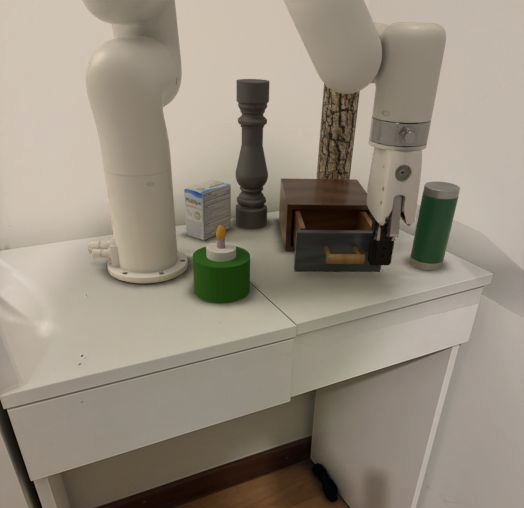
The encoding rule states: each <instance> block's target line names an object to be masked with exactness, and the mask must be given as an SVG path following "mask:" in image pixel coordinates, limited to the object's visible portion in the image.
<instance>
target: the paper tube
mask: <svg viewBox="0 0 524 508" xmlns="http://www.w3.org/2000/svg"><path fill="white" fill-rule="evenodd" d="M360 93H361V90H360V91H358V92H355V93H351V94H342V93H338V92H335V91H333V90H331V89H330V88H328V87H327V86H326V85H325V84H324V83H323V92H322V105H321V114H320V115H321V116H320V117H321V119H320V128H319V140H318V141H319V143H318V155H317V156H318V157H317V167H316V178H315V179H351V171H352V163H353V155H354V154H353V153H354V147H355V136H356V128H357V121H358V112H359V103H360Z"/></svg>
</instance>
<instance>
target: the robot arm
mask: <svg viewBox="0 0 524 508" xmlns="http://www.w3.org/2000/svg"><path fill="white" fill-rule="evenodd" d="M82 2H83V4H84V6H85V7H86V9H87V10H88V11H89V13H90V14H91V15H92V16H94V17H95V18H96V19H98V20H100V21H102V22H104V23H107V24H109V25H110V24H111V29H112V35H113V38H112V39H109V40H106V41H105V42H103V43H102V44H101V45H99V46H98V47H97V48H96V49H95V50H94V51H93V53H92V55H90V58H89V61H88V63H87V67H86V71H85V89H86V93H87V97H88V103H89V105H90V109H91V112H92V116H93V119H94V122H95V127H96V131H97V136H98V140H99V146H100V152H101V153H100V154H101V158H102V167H103V172H104V178H105V179H104V180H105V186H106V192H107V193H106V194H107V199H108V206H109V214H110V220H111V221H110V222H111V228H112V234H113V235H112V237H113V238H109V239H108V240H107V241H101V240H88V241H87V251H88V253H89V254H91V256H92V258H93V259H103V258H107V259H108V260H107V264H106V265H107V272H108V273H109V275H110V276H111V277H113V278H115V279H116V280H119V281H122V282H126V283H131V284H155V283H161V282H166V281H169V280H172V279H175V278H177V277H179V276H181V275H182V274H184V273H185V272H186V270H187V269H188V267H189V261H188V257H187V255H186V254H185V253H184V252H182V251H181V250H179V249H178V244H177V243H178V242H177V230H176V216H175V215H176V213H175V201H174V200H175V199H174V187H173V186H174V185H173V173H172V171H173V169H172V159H171V158H172V157H171V148H170V139H169V134H168V130H167V123H166V120H165V113H164V108H165V107H166V106H167V105H169V104H170V103H171V102H172V101H173V100H174V99H175V98H176V96H177V95H178V93H179V91H180V87H181V85H182V73H183V70H182V68H183V67H182V57H181V48H180V47H181V46H180V38H179V29H178V28H179V27H178V18H177V9H176V0H82ZM283 2H284V5H285V6H286V9H287V11H288V13H289V15H290V18H291V20H292V22H293V24H294V26H295V28H296V31H297V33H298V35H299V37H300V39H301V41H302V43H303V46H304V48H305V50H306V52H307V54H308V56H309V58H310V61H311V63H312V64H313V67H314V69H315V71H316V73H317V75H318V76H319V78H320V80H321V81H322V83H323V85H324V84H325V85H326V86H327V87H328V88H330V89H331V90H333V91H335V92H338V93H342V94H351V93H355V92H358V91H360V92H361V91H363V90H364V89H365V88H367V87H368V86H369V85H370V84H374V85H375V91H374V98H373V99H374V100H373V108H372V114H371V122H370V129H369V137H368V145H369V146H370V147H373V152H372V158H371V163H370V169H369V176H368V183H367V190H366V193H367V206H368V209H369V210H370V212H371V213H372V215H373V219H372V228H371V235H375V236H370V243H369V250H368V257H367V260H368V262H369V264H370V265H381V266H390V265H391V263H392V258H393V251H394V246H395V241H396V238H398V237H399V236H400V235H399V234H400V226H401V220H402V221H403V223H404V224H406V226H408V227H410V226H413V225H414V222H415V220H416V213H417V209H418V207H417V206H418V201H419V200H418V199H419V193H420V187H421V176H422V166H423V150H425V149H427V145H428V140H429V136H430V135H429V134H430V128H431V124H432V118H433V112H434V109H435V108H434V107H435V102H436V97H437V92H438V86H439V81H440V76H441V70H442V66H443V65H442V64H443V59H444V54H445V49H446V42H447V32H446V29H445V27H444V26H442V24H439V23H433V22H419V21H417V22H416V21H398V22H397V21H396V22H393V23H390V24H388V23H378V22H375V21H374V20H373V18H372V16H371V14H370V11H369V8H368V6H367V3H366V1H365V0H283Z"/></svg>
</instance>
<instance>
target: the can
mask: <svg viewBox="0 0 524 508" xmlns="http://www.w3.org/2000/svg"><path fill="white" fill-rule="evenodd" d="M460 191H461V187H460V186H459V185H457V184H454V183H451V182H446V181H428V182H425V183H424V185H423V191H422V195H421V200H420V204H419V211H418V216H417V220H416V225H415V231H414V236H413V241H412V247H411V250H410V251H411V252H410V257H409V264H410V265H411V266H412V267H414V268H416V269H418V270H423V271H438V270H440V269H442V268H443V263H444V260H445V255H446V252H447V248H448V243H449V239H450V236H451V235H450V234H451V230H452V226H453V222H454V217H455V213H456V209H457V205H458V200H459V195H460Z"/></svg>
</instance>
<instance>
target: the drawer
mask: <svg viewBox="0 0 524 508" xmlns="http://www.w3.org/2000/svg"><path fill="white" fill-rule="evenodd" d="M371 228H372V220H371V219H370V217H369V216H368V214H367V213H366V211H365V210H300V209H293V218H292V235H291V236H292V240H293V244H294V248H295V251H294V257H293V258H294V260H293V261H294V262H293V272H295V273H381V270H382V265H370V264H369V262H368V260H367V257H368V250H369V243H370V236H375V235H371Z"/></svg>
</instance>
